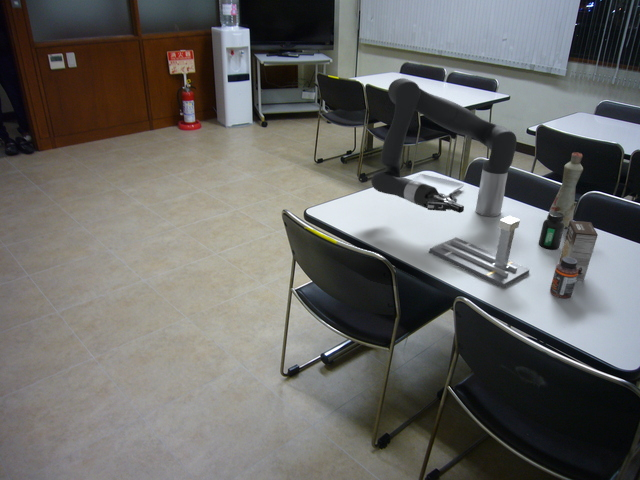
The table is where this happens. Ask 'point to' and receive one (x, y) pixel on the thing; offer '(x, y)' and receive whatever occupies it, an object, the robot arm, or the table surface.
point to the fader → (505, 241)
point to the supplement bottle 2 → (564, 278)
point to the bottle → (568, 189)
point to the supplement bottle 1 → (552, 231)
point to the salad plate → (439, 183)
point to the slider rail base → (478, 262)
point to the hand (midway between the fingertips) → (462, 209)
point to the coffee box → (579, 245)
